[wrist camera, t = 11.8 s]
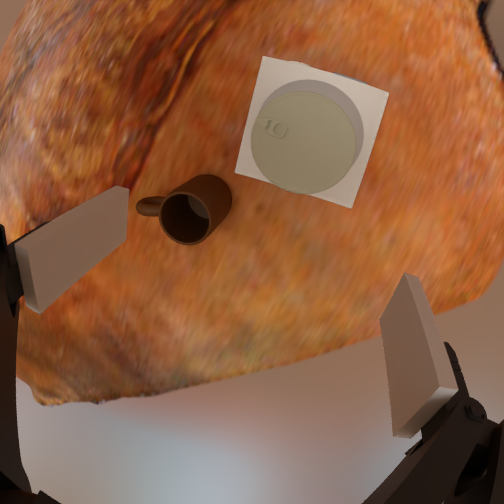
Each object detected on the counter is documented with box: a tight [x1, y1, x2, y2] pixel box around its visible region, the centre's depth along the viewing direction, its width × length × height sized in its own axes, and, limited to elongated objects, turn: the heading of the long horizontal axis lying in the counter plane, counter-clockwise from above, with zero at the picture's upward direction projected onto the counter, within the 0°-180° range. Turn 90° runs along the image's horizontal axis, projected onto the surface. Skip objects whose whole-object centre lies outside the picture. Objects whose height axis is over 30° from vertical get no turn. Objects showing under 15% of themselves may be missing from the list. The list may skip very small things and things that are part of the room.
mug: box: [136, 175, 231, 245], centre depth 45 cm, size 12×8×9 cm, turn 83°
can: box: [251, 91, 356, 194], centre depth 31 cm, size 9×9×12 cm
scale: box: [235, 56, 389, 209], centre depth 38 cm, size 16×16×5 cm
